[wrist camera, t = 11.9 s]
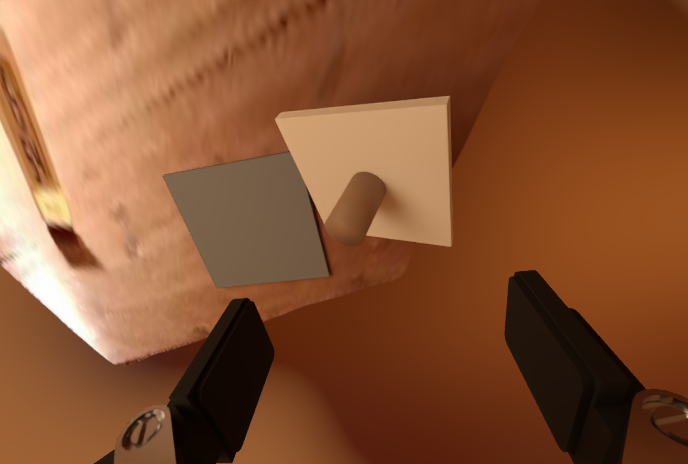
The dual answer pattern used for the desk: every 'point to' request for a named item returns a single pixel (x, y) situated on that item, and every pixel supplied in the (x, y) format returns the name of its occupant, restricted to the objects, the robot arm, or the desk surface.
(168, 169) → the desk surface
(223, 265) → the slate mat
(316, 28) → the desk surface
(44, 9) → the desk surface
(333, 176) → the cover board
